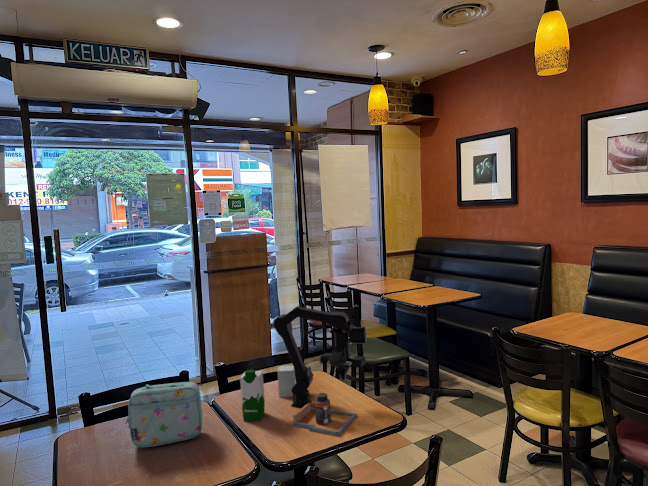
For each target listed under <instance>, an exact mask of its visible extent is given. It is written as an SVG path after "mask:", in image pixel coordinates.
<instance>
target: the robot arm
mask: <svg viewBox="0 0 648 486" xmlns="http://www.w3.org/2000/svg"><path fill="white" fill-rule="evenodd" d="M297 318H301V319H306V320H307V319H308V320H311V321H315V322H321V323H324V324H326V325H329V326H330V327H332V328H331V329H330V331H329V334H334V346H333V351H332V353H331V352H325V353H323V354H322V355H321V356H320V357H319V363H320V364H328V362H329V365H330V366H331V367H335V368H336V369H337V370H338V374H339V375H340V378H341V381H346V378H347V375H348V372H349V369H350V367H352V368H353V367H354V368H362V367H363V366H365V365H366V364H367V360H366V357H364V356H359V355H356V356H355V357H354V358H352V357H351V353H350V347H351V344H350V343H352V345H353V344H354V345H355V344H359V345H363V344H365V345H367V341H368V334H367V330H366V326H354V324H353V323H352V322H351V321H350V319H349V316H348V314H347V312H344V311H329V312H328V311H324V310H323V311H322V310H318V309H317V310H316V309H313V308H307V307H303V306H300V305H297V306H295V307H294V308H292V310H290V311H289V312H288V313H286V314H284V313H283V314H281V315H279V316H278V317H276V318H275V319H274V321H273V328H274V329H275V330H276V333H277V334H278V335H279V336H280V337H281V338H282V340H283V343H284V345H285V349H286V351H287V353H288V356H289V358H290V361H291V364H292V366H294V369H295V385H294V386H293V388H292V389H291V390H292V393H293V397H292V401H293V403H292V404H291V407H293V408H300V409H301V408H302V407H304V406H305V405H306V404H307V403H311V404H312V401H311V394H310V390H309V387H311V384H312V383H313V381H314V373H313V372H312V368H311V366H306V364H305V363H304V360H303V358H302V355H301V353H300V350H299V348H298V344H297V342H296V340H295V336H294V335H293V323H292V322H293V321H295V320H296V319H297ZM349 342H350V343H349Z"/></svg>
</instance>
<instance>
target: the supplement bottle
mask: <svg viewBox="0 0 648 486" xmlns="http://www.w3.org/2000/svg"><path fill="white" fill-rule="evenodd" d="M314 408H315V411H314V413H315V423H316V424H317V425H319V426H326V425H327V426H328V425H329V424H331V422H332V418H331V417H332V415H331V412H330V409H331V400H330V399H329V398H328V393H325V392H319V393H317V394H316V399H315V400H314Z"/></svg>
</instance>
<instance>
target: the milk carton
mask: <svg viewBox="0 0 648 486" xmlns="http://www.w3.org/2000/svg"><path fill="white" fill-rule="evenodd" d="M239 382H240V394H241V395H240V396H241V397H240V398H241V411H242V419H243V421H244V422H260V421H262V419H263V416H265V415H264V414H265V402H266V401H265V388H264V387H265V385H264V373H263V370H255V369H252V368H251V369H247V370H245V371H244V372H243V373H242V375H241V376H240V377H239Z"/></svg>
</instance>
